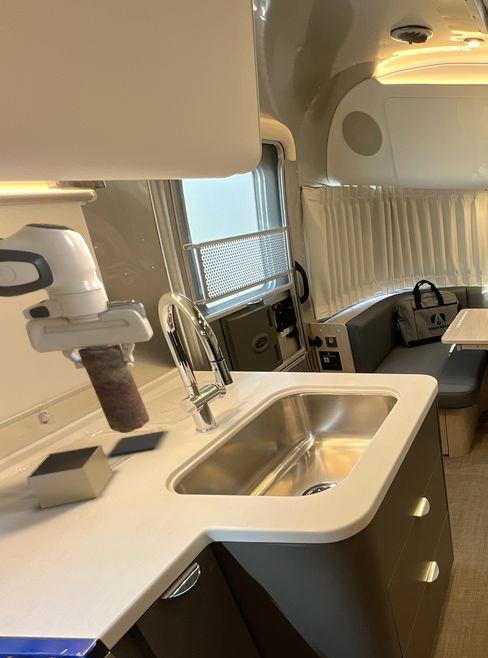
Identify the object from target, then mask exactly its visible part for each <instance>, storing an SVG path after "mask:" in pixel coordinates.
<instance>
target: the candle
mask: <svg viewBox="0 0 488 658" xmlns="http://www.w3.org/2000/svg"><path fill="white" fill-rule="evenodd" d="M77 351H78V354H79V358H80V359H81V360H82V361H83V364H84V366H85V368H84V370H85V371H86V373H87V376H88V378H89V381H90V382H91V385H92V387H93V390H94V392H95V394H96V397H97V399H98V402H99V405H100V407H101V409H102V412H103V414H104V417H105V419H106V421H107V423H108V426H109V428H110V429H111V430H112V431H114V432H119V433H121V434H127V433H131V432H133V431H136V430H139V429H141V428H143V427H144V426H145V425H146V424H147V423H149V422H150V416H149V413H148V411H147V408H146V406H145V404H144V401H143V399H142V395H141V394H140V391H139V389H138V387H137V383H136V381H135V378H134V376H133V374H132V371H131V368H130V366H129V363H124V362H123V359H122V355H123V354H125V353H124V351H123V348H122V346H121V344H117V345H108V346H99V347H90V348H81V349H77Z"/></svg>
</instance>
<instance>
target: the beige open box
mask: <svg viewBox="0 0 488 658" xmlns="http://www.w3.org/2000/svg"><path fill="white" fill-rule="evenodd" d="M113 474H114V471H113V469H112V467H111V464H110V462H109V460H108V458H107V456H106V453H105V451H104V449H103V447H102V444H99V445H93V446H86V447H82V448H81V447H79V448H74V449H70V450H64V451H58V452H57V451H56V452H52V453H48V454H47V455H46V456H45V458H43V460H42V461H41V462H40V463H39V464H38V465H37V466H36V467H35V468H34V469H33V470H32V471H31V473H30V474H28V476H27V477H26V481H27V483H28V484H29V487H30V488H31V491H32V492H33V494H34V496H35V498H36V500H37V501H38V503H39V505H40V507H41V509H46V508H51V507H55V506H60V505H65V504H66V505H67V504H70V503H75V502H80V501H84V500H90V499H95V498H98V497H99V495H100V493H101V492H102V490H103V489H104V487H105V485H107V484H108V482H109V480H110V478H111V477H112V475H113Z"/></svg>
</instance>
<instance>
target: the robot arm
mask: <svg viewBox="0 0 488 658" xmlns="http://www.w3.org/2000/svg"><path fill="white" fill-rule="evenodd" d="M41 290H45V292H46V294H47V296H48V298H47V299H44V300H41V301H39V302H38V303H35V304H32V305H30V306H29V307H28V306H27V307H26V308H25V309H24V310H22V315H23V317H24V318H25V319H26V320H28V321H27V322H26V324H25V331H26V335H27V337H28V340H29V343H30V345H31V347H32V349H33V350H34V351H36V352H38V353H39V354H43V353H44V354H45V353H52V352H53V353H54V352H61V353H62V356H64V357H65V358H67V359H68V360H70V361H71V362H73V364H74V366H75V368H76V369H77V370H78V369H85V366H84V364H83V361H82V360H81V357H80V356H78V355H77V354H76V353H75V352H76V350H80V349H84V348H90V347H99V346H111V345H117V344H119V345H123V347H124V349H127V350H126V353H124V354H123V355H122V359H123V362H124V363H128V364H130V363H133V362H134V361H135V357H134V356H133V352H134V349H135V346H136V343H143V342H149V340H151V339H152V337H153V335H154V331H153V328H152V326H151V324H150V321H149V320H148V318H147V311H146V308H145V306H144V305H143V304H142V302H141V303H140V302H139V301H136V300H133V299H125V300H111V301H109V299H108V296H107V293H106V291H105V288H104V285H103V284H102V282H101V281H100V280H99V278H98V276H97V273H96V264H95V262H94V259H93V256H92V255H91V252H90V250H89V248H88V245H87V244H86V241H85V240H84V238H83V237H82V235H81V234H80V233H79V232H78V231H76V230H75V229H73V228H71V227H69V226H66V225H60V224H52V223H37V222H36V223H35V222H34V223H28V224H25V225H24V226H23V227H21V228H20V229H19V230H18V231H16V232H14V233H13V234H11V235H9V236H7V237H5V238H3V237H0V297H2V298H14V297H21V296H25V295H27V294H30V293H31V294H32V293H34V292H38V291H41Z"/></svg>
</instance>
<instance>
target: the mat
mask: <svg viewBox="0 0 488 658" xmlns="http://www.w3.org/2000/svg"><path fill="white" fill-rule="evenodd" d="M163 436H164V431H156V432H150V433H145V434H140V435H139V434H138V435H131V436H127V437H121V439H120V440H119V441H118V443H117V445H116V446H115V448H114V449H113V450H112V451H111V453H110V457H116V456H122V455H128V454H133V453H139V452H144V451H150V450H155V449H156V447H157V446H158V444H159V442H160V440H161V439H162V437H163Z"/></svg>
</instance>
